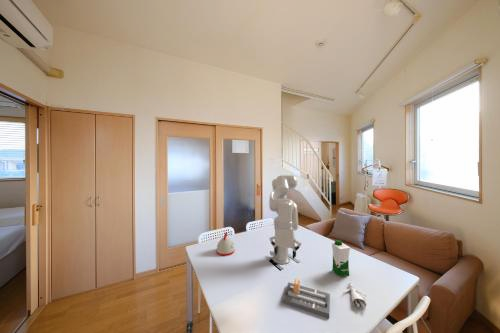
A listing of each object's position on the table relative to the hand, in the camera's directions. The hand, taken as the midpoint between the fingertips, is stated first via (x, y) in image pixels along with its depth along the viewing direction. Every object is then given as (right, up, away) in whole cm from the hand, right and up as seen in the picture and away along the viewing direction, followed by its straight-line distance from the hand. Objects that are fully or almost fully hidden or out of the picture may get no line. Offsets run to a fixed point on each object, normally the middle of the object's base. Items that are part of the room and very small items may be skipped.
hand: (284, 255), depth 98 cm
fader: (+6, -18, -3) cm, 19 cm away
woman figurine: (+37, -21, -3) cm, 42 cm away
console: (+10, -21, -5) cm, 24 cm away
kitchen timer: (-39, -20, +47) cm, 64 cm away
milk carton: (+40, -20, +18) cm, 48 cm away
